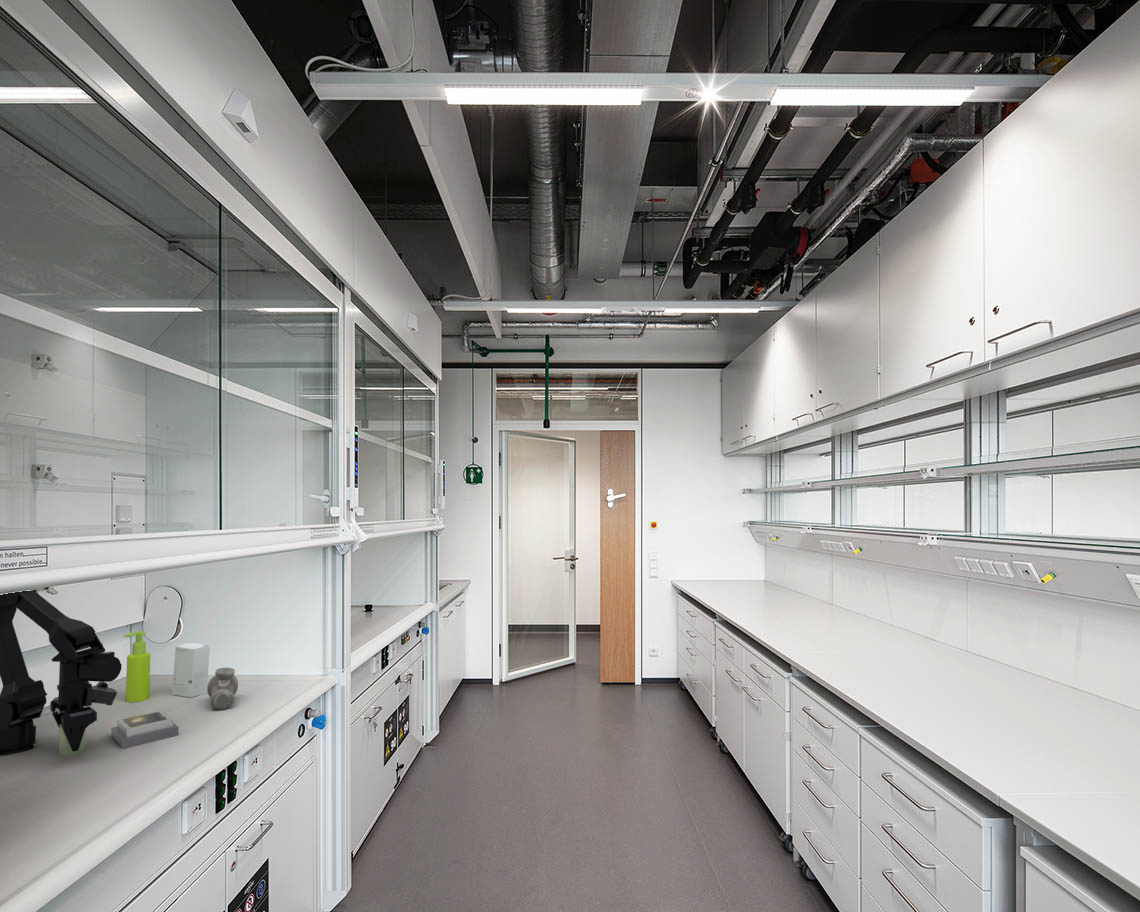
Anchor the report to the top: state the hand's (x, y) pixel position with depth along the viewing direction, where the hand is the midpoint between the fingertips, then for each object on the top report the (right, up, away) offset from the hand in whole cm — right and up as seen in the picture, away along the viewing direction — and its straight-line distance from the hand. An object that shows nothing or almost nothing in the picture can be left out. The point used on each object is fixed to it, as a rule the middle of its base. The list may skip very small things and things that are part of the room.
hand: (71, 746), depth 156 cm
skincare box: (+2, -4, +44) cm, 45 cm away
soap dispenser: (-11, -4, +39) cm, 41 cm away
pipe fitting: (+18, -3, +34) cm, 39 cm away
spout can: (0, -2, 0) cm, 2 cm away
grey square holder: (+10, -2, +11) cm, 15 cm away
